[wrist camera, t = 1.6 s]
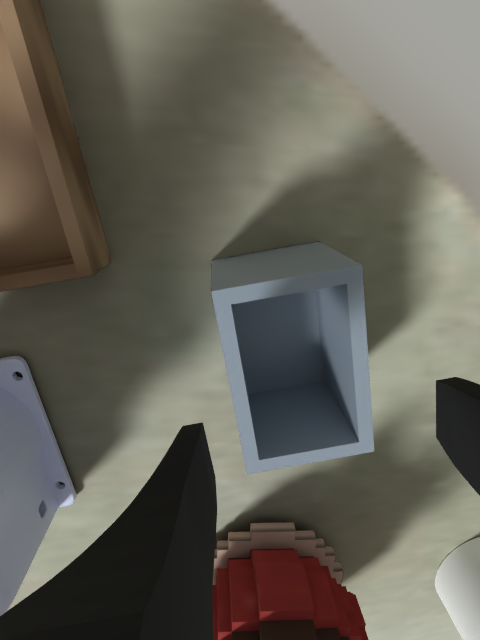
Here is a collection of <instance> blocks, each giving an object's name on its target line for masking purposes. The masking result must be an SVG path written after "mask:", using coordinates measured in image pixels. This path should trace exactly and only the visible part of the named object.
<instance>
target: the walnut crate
mask: <svg viewBox="0 0 480 640" xmlns="http://www.w3.org/2000/svg"><path fill="white" fill-rule="evenodd" d="M110 262H111V259H110V255H109V251H108V248H107V244H106V240H105V237H104V233H103V229H102V226H101V222H100V218H99V215H98V211H97V207H96V204H95V200H94V197H93V193H92V189H91V186H90V182H89V178H88V175H87V171H86V167H85V164H84V160H83V156H82V153H81V149H80V145H79V142H78V138H77V134H76V131H75V127H74V123H73V120H72V116H71V112H70V109H69V105H68V101H67V98H66V94H65V90H64V87H63V83H62V79H61V76H60V72H59V69H58V65H57V61H56V58H55V54H54V50H53V47H52V43H51V39H50V36H49V32H48V28H47V25H46V21H45V17H44V14H43V10H42V6H41V3H40V0H0V292H1V291H7V290H13V289H18V288H24V287H30V286H35V285H41V284H47V283H53V282H58V281H64V280H70V279H75V278H81V277H87V276H93V275H94V274H95V273H97V272H98V271H99V270H101V269H102V268H103V267H105V266H106V265H107V264H109V263H110Z"/></svg>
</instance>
